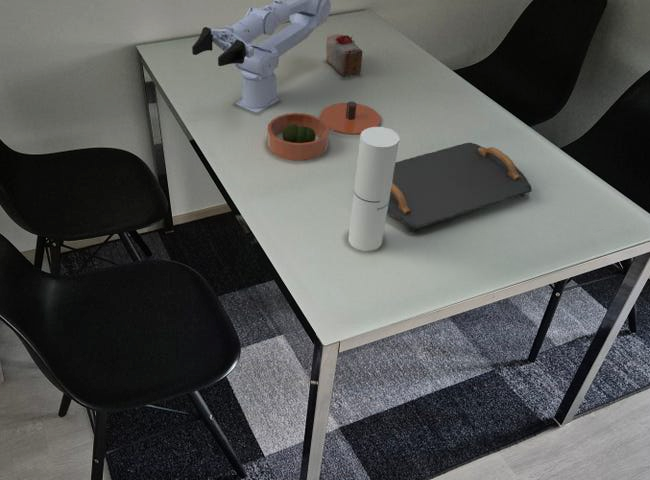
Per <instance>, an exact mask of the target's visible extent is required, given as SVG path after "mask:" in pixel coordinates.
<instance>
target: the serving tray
mask: <svg viewBox="0 0 650 480" xmlns="http://www.w3.org/2000/svg"><path fill="white" fill-rule="evenodd" d="M532 191H533V189H532V185H531V183H530V182H529V181H528V179H527V177H526V176H525V175H524V174H523V172H522V171H521V170H520V169H519V168H518V166H516V165H515V163H514V161H513V160H512V159H511V158H510V157H509V156H508V155H507V154H505V153H504V152H503V151H502V150H500V149H499V148H496V147H493V146H490V147H487V148H486V147H484V146H481V145H479V144H477V143H473V142H465V143H462V144H456V145H454V146H449V147H446V148H443V149H438V150H436V151H431V152H428V153H427V152H426V153H423V154H422V155H417V156H414V157H409V158H406V159H403V160H400V161H395V168H394V174H393V180H392V186H391V192H390V198H389V204H388V210H387V215H389V216H390V217H392V218H393V219H395V220H397V221H399V222H401V223H402V224H405V225H406V227H407V230H408V232H409V233H414V232H415V231H417V230H418V229H420V228H424V227H428V226H430V225H433V224H436V223H439V222H440V223H441V222H443V221H447V220H450V219H454V218H456V217H458V216H460V215H463V214H467V213H472V212H475V211H479V210H481V209H483V208H487V207H489V206H492V205H493V206H494V205H496V204H501V203H502V202H504V201H507V200H511V199H514V198H518V197H520V198H524V196H526V195H527V194H529V193H532Z"/></svg>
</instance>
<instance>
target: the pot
mask: <svg viewBox="0 0 650 480" xmlns="http://www.w3.org/2000/svg"><path fill="white" fill-rule="evenodd" d="M289 125H296V126H298V127H309V128H311V129H313V130H314V132H315V135H317V136H319V138H318V139H315V141H312V142H307V143H292V142H287V141H284V139H283V138H282V139H281V138H279V137H277V135H278V134H280V133H283V131H284V129H285V128H286V127H287V126H289ZM329 136H330V129H329V127H328V125H327V124H326V122H324V121H323V120H322V119H320V117H318V116H315V115H313V114H308V113H304V112H291V113H284V114H281V115H278V116H276V117H275V118H273V119H272V120H270V122H269V123H268V125H267V147H268V150H269V151H270V152H272V154H274V155H275V156H277V157H279V158H281V159H284V160H289V161H294V162H303V161H309V160H312V159H315V158H318V157H320V156H322V155H323V154H324V153H326V151H327V150H328V148H329Z"/></svg>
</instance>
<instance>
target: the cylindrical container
mask: <svg viewBox="0 0 650 480" xmlns="http://www.w3.org/2000/svg"><path fill="white" fill-rule="evenodd" d="M399 142H400V136H399V134H398V133H397V132H396V131H395V130H393V129H391V128H388V127H382V126H378V127H371V128H367V129H365V130H364V131H362V133H361V134H360V138H359V145H358V146H359V147H358V154H357V163H356V172H355V181H354V187H353V196H352V205H351V213H350V221H349V231H348V243H349V244H350V246H351V247H353V248H355V249H356V250H358V251H361V252H362V251H363V252H373V251H376V250H378V249H379V248H380V247H381V246H382V244H383V239H384V234H385V228H386V221H387V215H388V213H387V210H388V204H389V198H390V192H391V186H392V180H393V174H394V168H395V162H397V154H398V148H399Z"/></svg>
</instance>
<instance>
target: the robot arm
mask: <svg viewBox="0 0 650 480" xmlns="http://www.w3.org/2000/svg"><path fill="white" fill-rule="evenodd" d="M331 7H332V4H331V0H286V1H283V0H274V2H272V3H270V4H265V5H264V6H263V7H252V6H251V7H249V8H248V10H247V11H246V14H245V15H244V16H243V17H242V18H241V19H239V20H238V21H236V22H234V23H233V24H232V25H229V24H226V25H225V26H224V28H210V27H208V26H204V27H203V28H202V29H201V31H200V32H201V33H200V35H199V38H198V39H197V40H196V42H195V43H194V44H193V45H192V46H191V53H192V55H193V56H197V55H199V54H201V53H203V52H207V51H213V49H214V48H213V44H215V45H216V46H217V47H218V48H219V49H220V50H222V51H223V52H222V53H221V54H220V55H219V56H218V57H217V65H218V67H223V66H227V65H234V64H235V67H236V68H237V69H238V71H239V74H240V75H241V97H242V99H240V100H238V101H236V102H235V105H237V106H239V107H241V108H244V109H245V110H248V111H252V112H255V113H259V112H261V111H262V110H265V109H267V108H268V107H270V106H271V105H273V104H275V103H276V102H278V101H279V99H278V98H277V76H276V74H275V70H276V69H277V68H278V67H279V61H280V57H282V56H283V55H285V54H286V53H287V52H288V51H290V50H292V49H293V48H294V47H296V46H298V45H299V44H300V43H302V42H304V41H305V40H306V39H307V38H308V37H309V36H310V35H311V34H312V33H313V32H314V31H315V29H317V28H318V27H320V26H322V25H323V24H324V23H326V22H327V20H328V18H329V15H330V13H331ZM288 21H289V22H290V23H291V24H289V25H288V26H286V27H285V28H283V29H282V30H280V31H278V32H277V33H275V31H276V30H277V28H278V27H279V26H281V25H283V24H285V23H287V22H288ZM274 33H275V34H274ZM273 34H274V35H273ZM263 35H265V36H270V37H269V38H267V39H266V40H265V41H262V42H254V41H255V40H256V39H258V38H259V37H261V36H263ZM252 42H253V43H252Z"/></svg>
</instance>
